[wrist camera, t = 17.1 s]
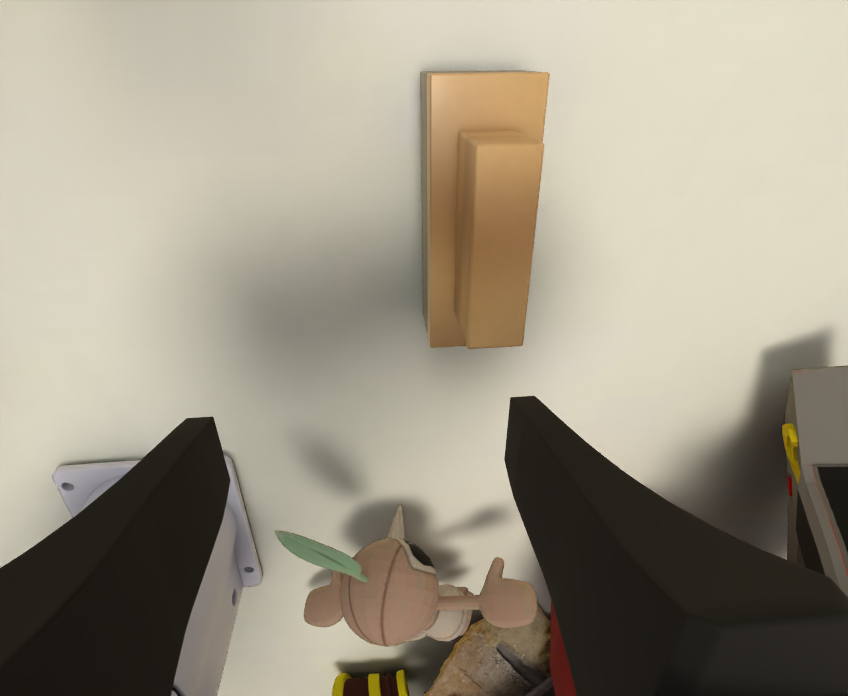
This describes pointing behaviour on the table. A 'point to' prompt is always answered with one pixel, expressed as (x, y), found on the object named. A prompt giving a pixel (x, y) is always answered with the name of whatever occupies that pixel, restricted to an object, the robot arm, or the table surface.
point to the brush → (479, 202)
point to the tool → (818, 471)
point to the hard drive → (543, 689)
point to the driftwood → (497, 660)
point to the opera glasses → (371, 685)
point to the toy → (404, 592)
